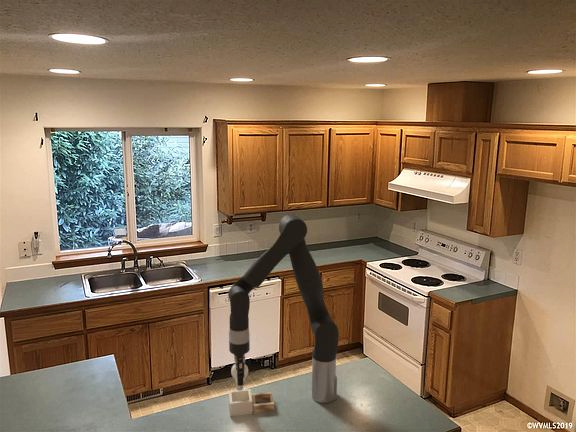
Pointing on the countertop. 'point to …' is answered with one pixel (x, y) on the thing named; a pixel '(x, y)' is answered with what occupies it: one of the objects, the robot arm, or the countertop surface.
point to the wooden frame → (264, 406)
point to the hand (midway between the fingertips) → (239, 380)
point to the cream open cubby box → (240, 402)
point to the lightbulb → (234, 374)
